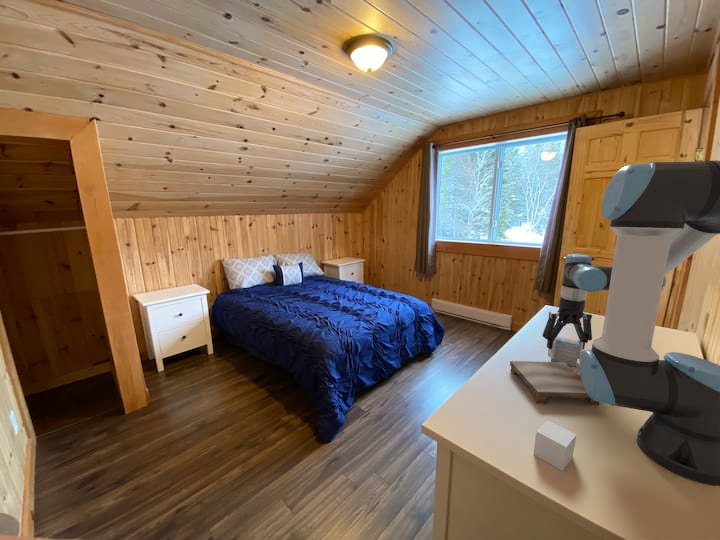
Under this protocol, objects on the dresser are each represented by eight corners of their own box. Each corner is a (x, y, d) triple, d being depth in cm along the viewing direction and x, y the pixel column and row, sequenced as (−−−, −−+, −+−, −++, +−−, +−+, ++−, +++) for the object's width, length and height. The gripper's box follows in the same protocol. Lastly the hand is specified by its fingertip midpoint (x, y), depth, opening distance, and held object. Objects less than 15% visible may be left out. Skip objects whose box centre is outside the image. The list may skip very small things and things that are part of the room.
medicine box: (575, 362, 112) (579, 340, 111) (576, 367, 109) (580, 344, 107) (550, 356, 117) (553, 335, 115) (550, 361, 113) (553, 339, 111)
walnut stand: (600, 406, 87) (602, 393, 87) (536, 404, 88) (538, 391, 87) (562, 373, 105) (564, 362, 104) (509, 371, 106) (510, 361, 105)
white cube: (572, 457, 69) (576, 434, 68) (562, 471, 66) (566, 447, 64) (543, 442, 74) (547, 420, 73) (533, 454, 70) (536, 431, 69)
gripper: (596, 295, 111) (587, 353, 116) (535, 294, 112) (528, 351, 116) (612, 301, 104) (601, 362, 108) (547, 300, 105) (539, 361, 109)
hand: (563, 356), depth 112 cm, fingers closed on medicine box, 9 cm apart
